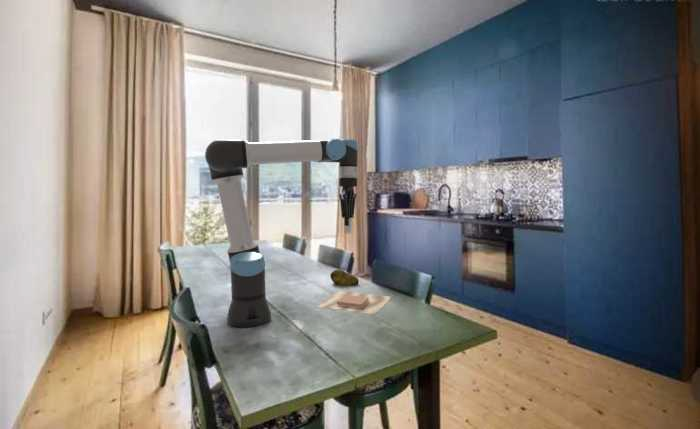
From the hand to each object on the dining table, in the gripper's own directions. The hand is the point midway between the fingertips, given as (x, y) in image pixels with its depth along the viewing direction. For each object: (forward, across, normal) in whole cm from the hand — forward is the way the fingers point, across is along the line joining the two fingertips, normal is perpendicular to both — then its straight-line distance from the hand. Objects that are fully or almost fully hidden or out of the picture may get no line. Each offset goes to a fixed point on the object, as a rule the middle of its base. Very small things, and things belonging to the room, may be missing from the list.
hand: (347, 233), depth 151 cm
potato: (+28, +14, +8) cm, 32 cm away
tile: (+25, -6, -7) cm, 27 cm away
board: (+28, -8, -7) cm, 30 cm away
